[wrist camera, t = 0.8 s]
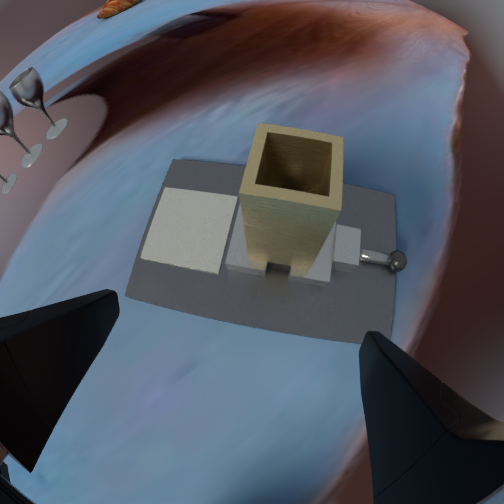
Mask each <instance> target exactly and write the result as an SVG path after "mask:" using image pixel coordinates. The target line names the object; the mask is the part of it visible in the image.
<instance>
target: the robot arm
mask: <svg viewBox="0 0 504 504" xmlns="http://www.w3.org/2000/svg"><path fill="white" fill-rule="evenodd" d="M119 313H120V309H119V302H118V295H117V293H116V292H115V291H113V290H109V289H105V290H101V291H97V292H94V293H90V294H87V295H83V296H79V297H76V298H72V299H69V300H65V301H61V302H58V303H54V304H51V305H47V306H44V307H40V308H36V309H33V310H31V311H30V310H29V311H26V312H22V313H18V314H14V315H10V316H6V317H1V318H0V504H35V503H34V502H33V501H31V500H30V499H29V498H28V497H26V496H25V495H24V494H23V493H21V492H20V491H19V490H18V489H17V488H15V487H14V486H13V485H12V484H11V483H10V478H9V473H8V467H7V465H6V464H5V463H4V462H3V461H4V459H5V458H6V457H7V455H9V456H10V457H11V458H12V459H14V460H15V461H16V462H17V463H18V464H20V465H21V466H22V467H23V468H25V469H26V470H27V471H28V472H30V473H31V472H32V471H33V469H34V467H35V465H36V463H37V461H38V459H39V457H40V454H41V452H42V451H43V449H44V447H45V445H46V443H47V441H48V439H49V437H50V435H51V433H52V431H53V429H54V427H55V425H56V424H57V422H58V420H59V418H60V416H61V415H62V413H63V411H64V409H65V408H66V406H67V404H68V402H69V401H70V399H71V397H72V395H73V394H74V392H75V390H76V389H77V387H78V385H79V384H80V382H81V380H82V379H83V377H84V376H85V374H86V372H87V371H88V369H89V367H90V366H91V364H92V363H93V361H94V360H95V358H96V356H97V355H98V353H99V352H100V350H101V349H102V347H103V345H104V343H105V342H106V340H107V338H108V336H109V334H110V332H111V330H112V328H113V326H114V324H115V322H116V320H117V318H118V316H119ZM359 366H360V384H361V395H362V402H363V408H364V415H365V421H366V429H367V436H368V444H369V453H370V462H371V473H372V483H373V484H372V485H373V498H374V499H373V503H374V504H504V422H501V421H498V420H496V419H494V418H492V417H491V416H490V415H488V414H487V413H485V412H484V411H482V410H481V409H479V408H478V407H476V406H475V405H473V404H472V403H470V402H469V401H467V400H466V399H465V398H463V397H462V396H460V395H459V394H457V393H456V392H455V391H454V390H452V389H451V388H450V387H449V386H447V385H446V384H445V383H442V381H441V380H440V379H438V378H437V377H436V376H435V375H433V374H432V373H431V372H430V371H428V370H427V369H426V368H424V367H423V366H422V365H421V364H420V363H418V362H417V361H416V360H414V359H413V358H412V357H411V356H409V355H408V354H407V353H406V352H404V351H403V350H402V349H400V348H399V347H398V346H397V345H395V344H394V343H393V342H392V341H390V340H389V339H388V338H386V337H385V336H384V335H383V334H381V333H380V332H378V331H367V332H366V334H365V337H364V339H363V342H362V345H361V347H360V350H359Z"/></svg>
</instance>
